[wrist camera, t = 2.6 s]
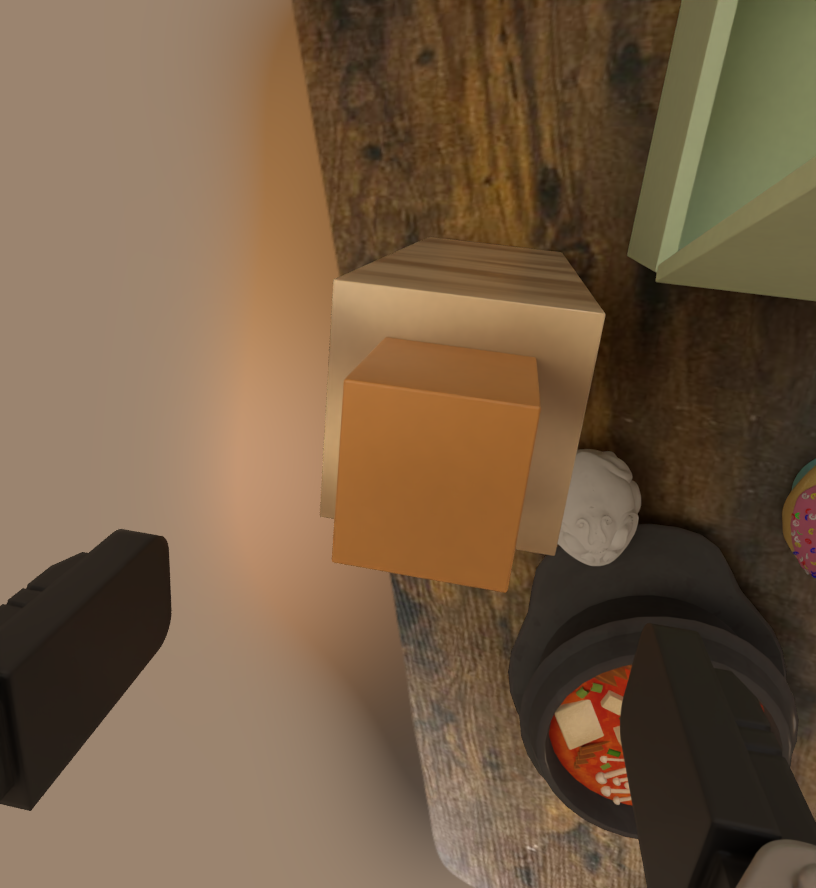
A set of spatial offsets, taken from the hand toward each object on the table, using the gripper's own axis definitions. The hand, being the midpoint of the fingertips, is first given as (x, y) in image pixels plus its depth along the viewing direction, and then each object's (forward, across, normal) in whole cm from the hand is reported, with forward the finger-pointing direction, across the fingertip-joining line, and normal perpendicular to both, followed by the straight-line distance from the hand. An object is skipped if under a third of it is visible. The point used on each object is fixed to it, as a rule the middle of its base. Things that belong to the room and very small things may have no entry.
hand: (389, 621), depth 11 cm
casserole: (+32, -15, +24) cm, 43 cm away
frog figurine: (+32, -8, +10) cm, 35 cm away
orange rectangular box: (+10, 0, 0) cm, 10 cm away
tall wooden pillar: (+32, 0, 0) cm, 32 cm away
